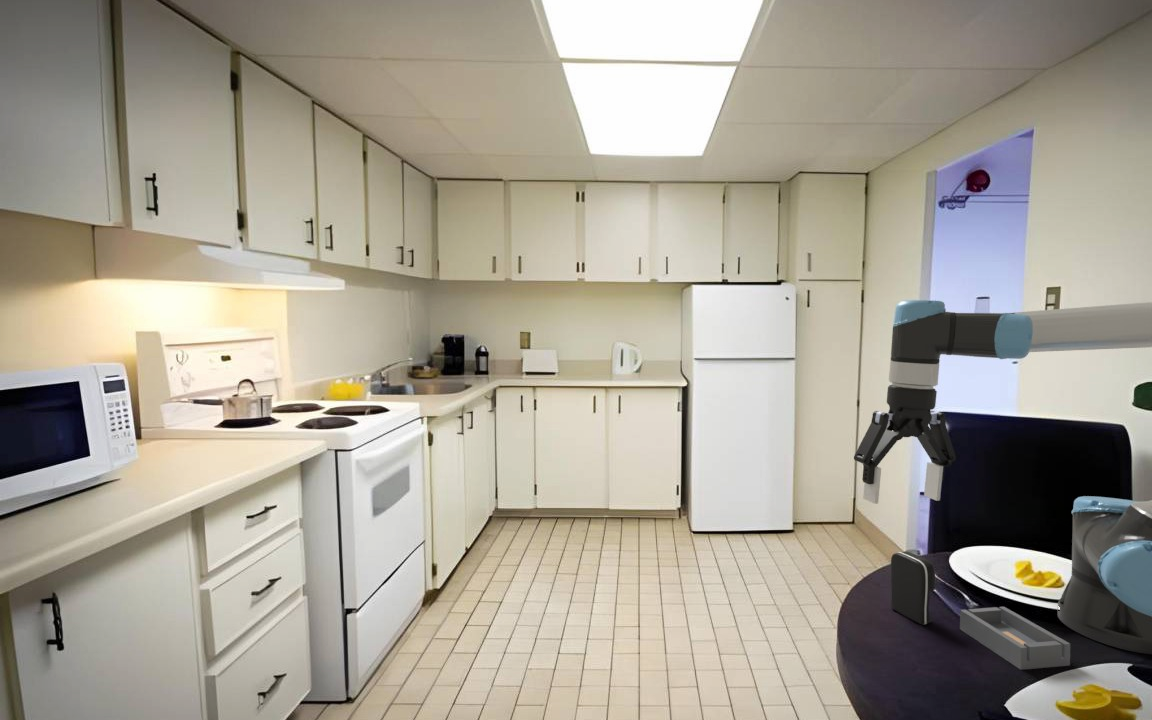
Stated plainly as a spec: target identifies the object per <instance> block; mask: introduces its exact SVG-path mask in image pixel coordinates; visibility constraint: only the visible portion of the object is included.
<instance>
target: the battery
mask: <svg viewBox="0 0 1152 720" xmlns="http://www.w3.org/2000/svg"><path fill="white" fill-rule="evenodd" d="M935 590H936V569H935V566H934V564H933V563H932V562H931V561H930V560H928V559H927V558H924V557H922V556H920V555H918V554H915V553H912V552H910V551H898V552H894V553H893V554H892V556H891V559H890V592H891V596H890V597H891V599H890V607H891V609H893V610H894V611H896V612H897V613H899V614H901V615H902V616H904V617H906V618H908V619H910V620H912V621H914V622H915V623H917V624H919V625H924V626H925V625H927V624H929V623H932V617H931V614H930V594H931V591H935Z"/></svg>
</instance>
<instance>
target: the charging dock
mask: <svg viewBox="0 0 1152 720" xmlns="http://www.w3.org/2000/svg"><path fill="white" fill-rule="evenodd" d="M959 630H961V631H962V633H963V632H964V634H967V636H969V637H971V638H972V639H974V640H976V641H977V642H978V643H980V645H981V644H982V645H983V646H984V647H985V648H988V649H989V650H991V652H993V653H995V654H997V655H998V657H999V656H1000V657H1001V658H1002V659H1003V660H1005V661H1007V662H1008V663H1010V664H1011V665H1013V666H1014V667H1016V668H1017V669H1019V670H1021V671H1023V670H1032V669H1033V670H1034V669H1043V668H1057V667H1068V666H1071V643H1070V642H1068V641H1066V640H1065V639H1063V638H1061V637H1059V636H1058V635H1056V634H1054V633H1052V632H1050V631H1048V630H1046V629H1045V628H1043V627H1041V626H1039V625H1037V624H1036V623H1035V622H1032V621H1031V620H1029V619H1027V618H1025V617H1023V616H1022V615H1020V614H1018V613H1016V612H1014V611H1012V610H1011V609H1009V608H1007V606H1006V607H1005V606H999V607H996V606H993V607H982V608H968V609H960V612H959Z"/></svg>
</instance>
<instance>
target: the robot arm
mask: <svg viewBox="0 0 1152 720" xmlns="http://www.w3.org/2000/svg"><path fill="white" fill-rule="evenodd" d="M945 305H946V304H945V302H944V301H941V300H934V299H933V300H928V299H927V300H926V299H925V300H924V299H923V300H922V299H909V300H908V299H907V300H902V301H899V302H898V303H897V304H896V306H895V310H894V317H893V322H892V323H893V325H892V335H891V349H890V363H889V373H888V381H889V382H890V383H892V384H889V385H888V386H887V393H886V403H887V405H888V406H889V407H888V408H889V410H888V412H883V411H879V410H874V411H873V412H872V417H871V422H870V424H869V426H868V428H867V431H866V432H865V434H864V436H863V438H862V440H861V442H860V444H859V446H858V448H857V450H856V452H855V454H854V455H853V460H854V461H856V462H858V463H861V464H862V465H863V468H862V469H863V470H862V482H863V483H864V484H863V485H864V486H863V500H866V501H868V502H870V503H872V504H874V505H875V504H879V498H880V497H879V496H880V487H881V475H882V468H881V467H880V466H879V464H880V463H881V462H882V461H883V459H884V458H885V457H886V456H887V454H888V453H889V452H890V451H891V449H892V448H893V447H894V445H895V444H896V443H897V442H898V441H900V440H902V439H903V438H911V437H914V438H917V440H918V441H919V443H920V445H921V446H922V448H923V449H924V451H925V453H926V454H927V456H928V457H929V459H930V460H931V461H930V462H929V461H927V462H926V469H925V471H926V472H925V479H924V480H925V482H924V489H923V490H924V492H923V496H924V497H926V498H929V499H931V500H934V501H936V502H937V501H938V502H939V501H941V492H942V484H943V483H942V482H943V481H944V478H945V470H946V469H945V468H946V467H951V466H952V463H954V462H955V461H956V460H957V459H956V458H957V457H956V454H955V453H956V452H955V450H954V447H953V444H952V441H951V437H950V435H949V431H948V428H947V425H946V423H947V421H946V420H947V419H946V417H947V416H946V413H944V412H941V411H936V410H934V409H935V408H936V404H937V394H938V391H937V390H936V388H934V387H937V386H938V385H939V372H940V371H939V370H940V361H941V360H940V357H941V355H945V356H952V355H953V356H962V357H974V358H975V357H976V358H990V359H992V358H993V359H999V360H1005V359H1011V360H1012V359H1017V360H1020V359H1024V358H1026V357H1027V356H1028V354H1029V353H1038V352H1039V353H1041V352H1042V353H1043V352H1067V351H1068V352H1069V351H1071V352H1072V351H1089V350H1090V351H1093V350H1113V349H1114V350H1115V349H1116V350H1117V349H1118V350H1119V349H1140V348H1141V349H1143V348H1145V349H1146V348H1152V301H1148V302H1147V301H1146V302H1135V303H1122V304H1110V305H1108V304H1107V305H1096V306H1093V305H1092V306H1081V307H1070V308H1069V307H1067V308H1056V309H1054V308H1053V309H1043V310H1031V311H1029V310H1028V311H1017V312H1003V313H1002V312H1000V313H999V312H996V313H995V312H993V313H992V312H951V311H947V310H946V306H945ZM1072 507H1073V508H1072V510H1071V515H1072V535H1071V536H1072V539H1071V543H1072V545H1071V576H1070V578H1069V581H1068V583H1067V585H1066V587H1065V588H1064V590H1063V593H1062V594H1061V597H1060V599H1058V602H1057V607H1058V606H1059V607H1060V611H1058V610H1057V618H1058V619H1059V621H1060V622H1061V623H1062V624H1064V625H1065V626H1066V627H1068V628H1069V629H1071V630H1072V631H1074V632H1076V633H1078V634H1080V635H1082V636H1084V637H1086V638H1089V639H1091V640H1093V641H1096V642H1098V643H1101V644H1103V645H1104V644H1105V645H1107V646H1110V647H1114V648H1117V649H1120V650H1124V651H1129V652H1134V653H1139V654H1143V655H1144V654H1145V655H1152V499H1150V500H1146V501H1144V500H1143V501H1138V500H1137V501H1136V500H1131V499H1126V498H1125V499H1123V498H1115V497H1105V496H1095V495H1094V496H1091V495H1090V496H1089V495H1087V496H1086V495H1083V496H1078V497H1077V498H1075V499H1074V500H1073V506H1072Z"/></svg>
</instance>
